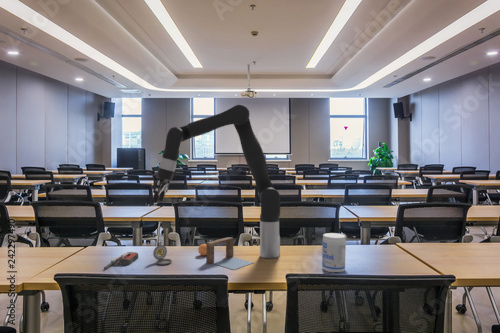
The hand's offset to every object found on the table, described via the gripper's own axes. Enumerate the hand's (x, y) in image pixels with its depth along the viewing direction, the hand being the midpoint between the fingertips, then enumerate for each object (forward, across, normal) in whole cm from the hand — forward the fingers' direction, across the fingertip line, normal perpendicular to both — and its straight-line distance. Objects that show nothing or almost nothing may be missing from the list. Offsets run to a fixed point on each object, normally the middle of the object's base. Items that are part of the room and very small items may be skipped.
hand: (157, 201), depth 160 cm
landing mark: (+16, -5, -42) cm, 46 cm away
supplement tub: (+5, -12, -84) cm, 85 cm away
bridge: (+18, 0, -36) cm, 40 cm away
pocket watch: (+25, -5, -12) cm, 28 cm away
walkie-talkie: (+31, -7, +6) cm, 32 cm away
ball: (+18, +7, -26) cm, 32 cm away
